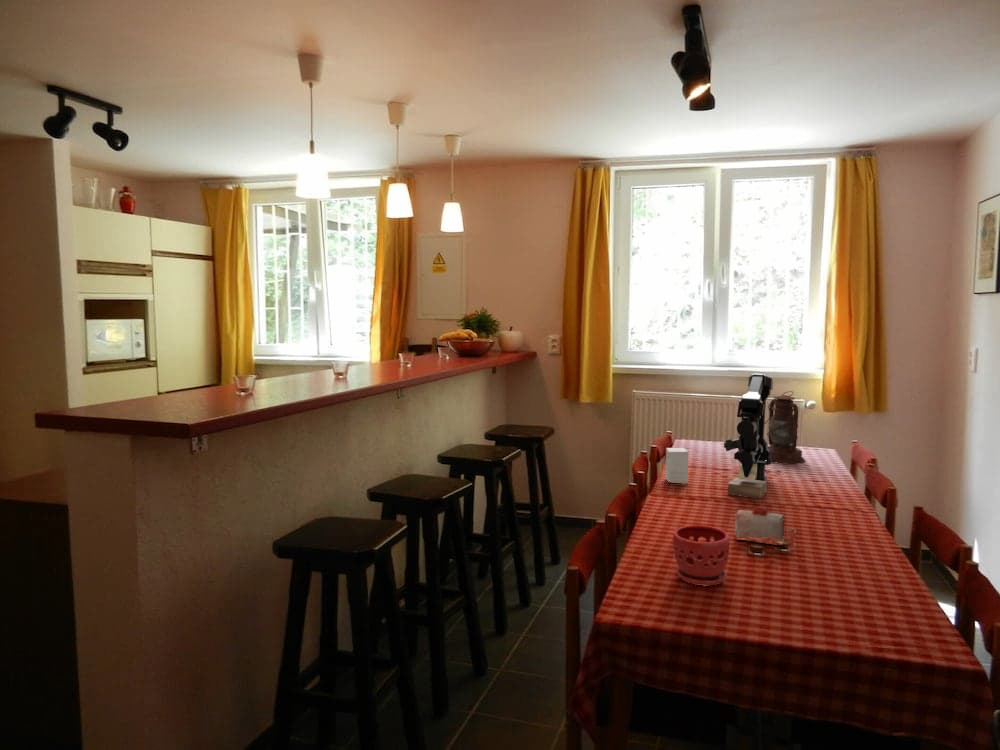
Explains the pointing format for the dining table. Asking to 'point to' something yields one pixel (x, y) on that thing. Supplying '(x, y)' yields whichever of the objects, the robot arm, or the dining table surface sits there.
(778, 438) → the lantern
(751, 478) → the birch cube
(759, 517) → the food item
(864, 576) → the dining table surface
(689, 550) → the plant pot
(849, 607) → the dining table surface
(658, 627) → the dining table surface
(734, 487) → the beige flat block
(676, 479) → the supplement box
